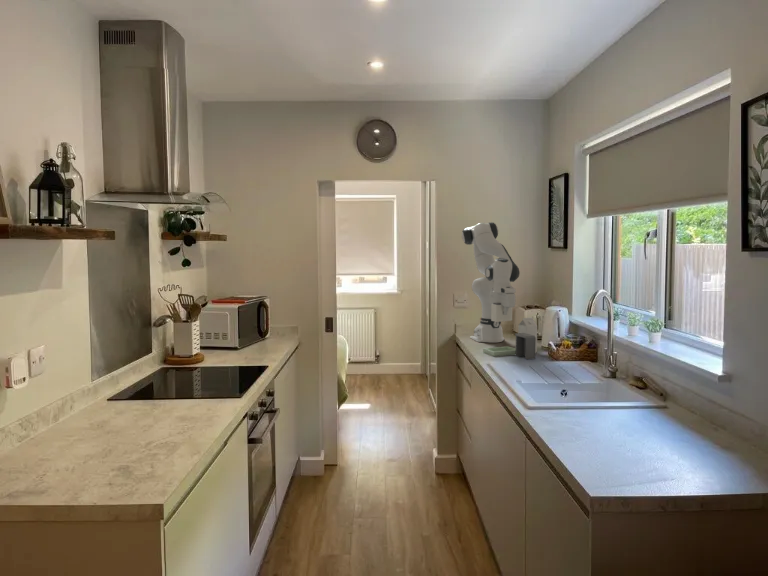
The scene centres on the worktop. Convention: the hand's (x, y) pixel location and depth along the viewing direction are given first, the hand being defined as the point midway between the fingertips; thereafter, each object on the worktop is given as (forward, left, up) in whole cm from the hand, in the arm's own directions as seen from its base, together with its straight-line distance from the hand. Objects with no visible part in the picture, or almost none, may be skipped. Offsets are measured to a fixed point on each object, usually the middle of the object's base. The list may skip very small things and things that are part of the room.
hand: (501, 314), depth 297 cm
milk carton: (+3, +15, -22) cm, 27 cm away
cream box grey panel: (0, 0, -4) cm, 4 cm away
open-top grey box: (+13, +6, -22) cm, 26 cm away
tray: (0, 0, -22) cm, 22 cm away
